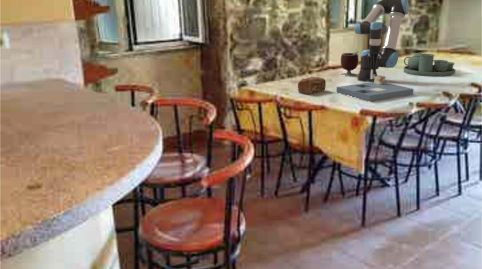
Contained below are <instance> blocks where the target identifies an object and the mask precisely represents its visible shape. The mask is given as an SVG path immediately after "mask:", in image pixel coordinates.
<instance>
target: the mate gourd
mask: <svg viewBox="0 0 482 269" xmlns="http://www.w3.org/2000/svg"><path fill="white" fill-rule="evenodd" d="M340 65H341V67H342V69H344V70H345V71H346V72H343V73H341V74H340V75H341V76H342V75H345V76H344V77H357V76H358V75H357V73H354V72H353V73H352V71H353V70H356V69H357V67H358V65H359V51H356V52H344V53H341V56H340Z"/></svg>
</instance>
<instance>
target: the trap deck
mask: <svg viewBox="0 0 482 269" xmlns="http://www.w3.org/2000/svg"><path fill="white" fill-rule="evenodd" d="M336 92H337V93H336V94H339V93H341V94H340V95H343V94H345V95H344V96H347V95H349V96H348V97H350V96H352V97H351V98H354V97H356V98H355V99H357V98H359V99H358V100H361V99H362V101H365V100H366V101H365V102H368V101H372V102H376V100H378V101H382V100H390V99H394V98H395V99H397V98H402V97H408V96H413V95H414V88H413V87H412V88H411V87H406V86H402V85H397V84H393V83H389V82H385V84H380V85H379V84H374V81H368V82H363V83H356V84H348V85H339V86H336Z"/></svg>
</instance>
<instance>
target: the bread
mask: <svg viewBox="0 0 482 269" xmlns="http://www.w3.org/2000/svg"><path fill="white" fill-rule="evenodd" d="M326 86H327V82H326V79H324V78H323V77H320V76H317V77H316V76H315V77H314V76H312V77H307V78H302V79H300V80H299V81H298V82H297V91H298V93H300V94H304V95H311V94H317V93H320V92H324V91H325V90H326Z"/></svg>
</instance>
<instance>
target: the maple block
mask: <svg viewBox="0 0 482 269" xmlns="http://www.w3.org/2000/svg"><path fill="white" fill-rule="evenodd" d="M373 82H374V84H379V85H380V84H385V83H386V76H383V75H377V76H375V78H374V81H373Z"/></svg>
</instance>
